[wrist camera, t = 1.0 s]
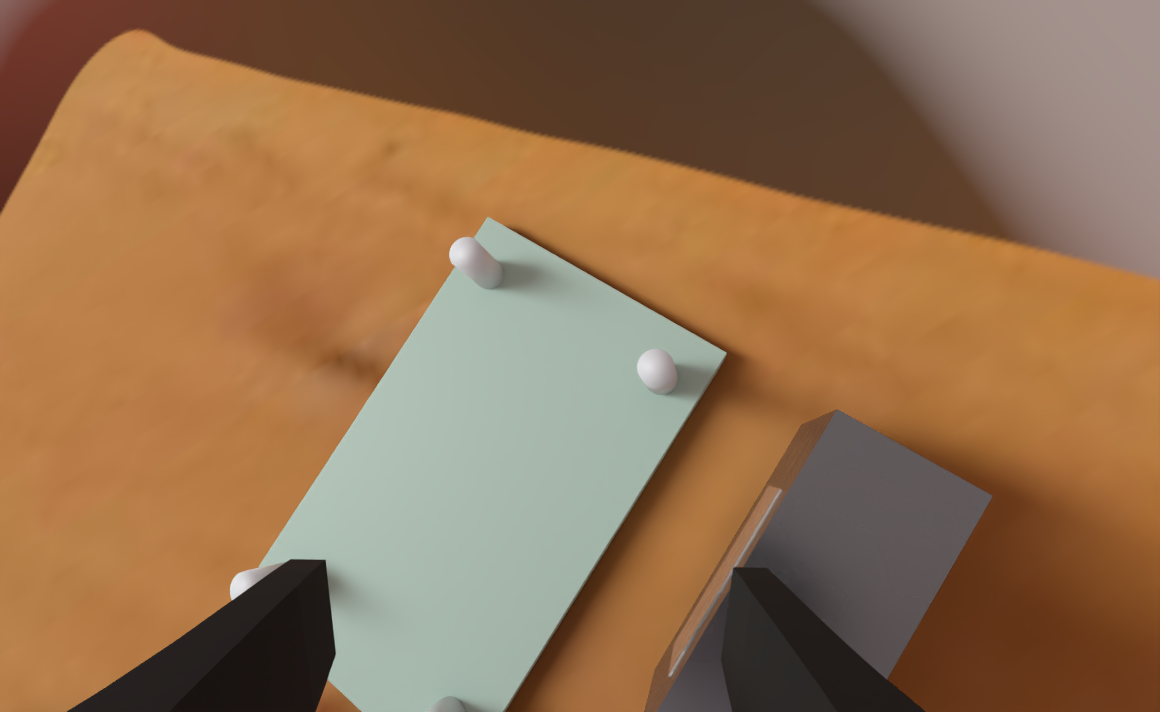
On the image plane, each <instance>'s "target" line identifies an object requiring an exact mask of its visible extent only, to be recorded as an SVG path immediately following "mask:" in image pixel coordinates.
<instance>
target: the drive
mask: <svg viewBox="0 0 1160 712" xmlns="http://www.w3.org/2000/svg"><path fill="white" fill-rule="evenodd" d="M992 497H993V496H992V495H990V494H989V493H987V492H985V491H983V490H981V489H980V488H978V487H976V486H974V485H972V484H971V483H969V482H967V481H965V480H963V479H962V478H960V477H958V476H956V475H954V474H953V473H951V472H949V471H947V470H945V469H944V468H942V467H940V466H938V465H936V464H935V463H933V462H931V461H929V460H927V459H926V458H924V457H922V456H920V455H918V454H917V453H915V452H913V451H911V450H909V449H908V448H906V447H904V446H902V445H900V444H899V443H897V442H895V441H893V440H891V439H890V438H888V437H886V436H884V435H882V434H881V433H879V432H877V431H875V430H873V429H872V428H870V427H868V426H866V425H864V424H863V423H861V422H859V421H857V420H855V419H854V418H852V417H850V416H848V415H846V414H845V413H843V412H841V411H839V410H834V411H832V412H830V413H828V414H825V415H823V416H821V417H818V418H816V419H814V420H812V421H809V422H807V423H805V424H803V425H801V427H800V428H799V430H798V432H797V433H796V435H795V437H794V438H793V440H792V442H791V443H790V445H789V447H788V448H787V450H786V452H785V453H784V455H783V457H782V458H781V460H780V462H779V463H778V465H777V467H776V468H775V470H774V472H773V473H772V475H771V477H770V478H769V480H768V482H767V483H766V485H765V487H764V488H763V490H762V492H761V493H760V495H759V497H758V498H757V500H756V502H755V503H754V505H753V507H752V508H751V510H750V512H749V513H748V515H747V517H746V518H745V520H744V522H743V523H742V525H741V527H740V528H739V530H738V532H737V533H736V535H735V537H734V538H733V540H732V542H731V543H730V545H729V547H728V548H727V550H726V552H725V553H724V555H723V557H722V558H721V560H720V562H719V563H718V565H717V567H716V568H715V570H714V572H713V573H712V575H711V577H710V578H709V580H708V582H707V583H706V585H705V587H704V588H703V590H702V592H701V593H700V595H699V597H698V598H697V600H696V602H695V603H694V605H693V607H692V608H691V610H690V612H689V613H688V615H687V617H686V618H685V620H684V622H683V623H682V625H681V627H680V628H679V630H678V632H677V633H676V635H675V637H674V638H673V640H672V642H671V643H670V645H669V647H668V648H667V650H666V652H665V653H664V655H663V657H662V658H661V660H660V662H659V663H658V665H657V667H656V668H655V671H654V675H653V679H652V683H651V687H650V691H649V695H648V699H647V703H646V707H645V711H644V712H732V709H731V704H730V700H729V696H728V691H727V686H726V681H725V677H724V672H723V667H722V662H721V656H722V648H723V640H724V633H725V625H726V617H727V609H728V602H729V594H730V586H731V578H732V571H733V567H753V568H768V569H769V570H770V571H771V572H772V573H773V574H774V575H775V576H776V577H777V578H778V579H780V580H781V581H782V582H783V583H784V584H785V585H786V586H787V587H788V588H789V589H790V590H791V591H792V592H793V593H794V594H795V595H796V596H797V597H798V598H799V599H800V600H801V601H802V602H803V603H804V604H805V605H806V606H807V607H808V608H809V609H810V610H811V611H812V612H814V613H815V614H816V615H817V616H818V617H819V618H820V619H821V620H822V621H823V622H824V623H825V624H826V625H827V626H828V627H829V628H830V629H831V630H832V631H833V632H835V633H836V634H837V635H838V636H839V637H840V638H841V639H842V640H843V641H844V642H845V643H846V644H847V645H849V646H850V647H851V648H852V649H853V650H854V651H855V652H856V653H857V654H858V655H860V656H861V657H862V658H863V659H864V660H865V661H866V662H867V663H869V664H870V665H871V666H872V667H873V668H874V669H875V670H877V671H878V672H879V673H880V674H881V675H882V676H883V677H885V678H886V679H888V677H889V675H890V673H891V672H892V670H893V668H894V666H895V665H896V663H897V661H898V660H899V658H900V656H901V654H902V653H903V651H904V649H905V647H906V646H907V644H908V642H909V640H910V639H911V637H912V635H913V634H914V632H915V630H916V628H917V627H918V625H919V623H920V621H921V620H922V618H923V616H924V614H925V613H926V611H927V609H928V608H929V606H930V604H931V602H932V601H933V599H934V597H935V595H936V594H937V592H938V590H939V589H940V587H941V585H942V583H943V582H944V580H945V578H946V576H947V575H948V573H949V571H950V569H951V568H952V566H953V564H954V563H955V561H956V559H957V557H958V556H959V554H960V552H961V550H962V549H963V547H964V545H965V543H966V542H967V540H968V538H969V537H970V535H971V533H972V531H973V530H974V528H975V526H976V524H977V523H978V521H979V519H980V517H981V516H982V514H983V512H984V511H985V509H986V507H987V505H988V504H989V502H990V500H991V498H992Z"/></svg>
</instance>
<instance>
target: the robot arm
mask: <svg viewBox="0 0 1160 712" xmlns="http://www.w3.org/2000/svg"><path fill="white" fill-rule="evenodd" d="M335 656H336V649H335V640H334V631H333V622H332V613H331V604H330V595H329V586H328V576H327V567H326V560H315V559H290V560H289V561H287V562H286V563H284V564H282V565H281V566H279V567H278V568H277V569H275V570H274V571H272V572H271V573H269V574H268V575H267V576H265V577H264V578H262V579H261V580H260V581H258V582H257V583H255V584H254V585H253V586H251V587H250V588H249V589H247V590H246V591H244V592H243V593H242V594H240V595H239V596H238V597H236V598H235V599H234V600H232V601H231V602H229V603H228V604H227V605H225V606H224V607H222V608H221V609H220V610H218V611H217V612H215V613H214V614H213V615H211V616H210V617H208V618H207V619H206V620H204V621H203V622H201V623H200V624H199V625H197V626H196V627H194V628H193V629H192V630H190V631H189V632H187V633H186V634H185V635H183V636H182V637H180V638H179V639H178V640H176V641H175V642H173V643H172V644H170V645H169V646H167V647H166V648H164V649H163V650H161V651H160V652H158V653H157V654H155V655H154V656H152V657H151V658H149V659H148V660H146V661H145V662H143V663H142V664H140V665H139V666H137V667H136V668H134V669H133V670H131V671H130V672H128V673H127V674H125V675H124V676H122V677H121V678H119V679H118V680H116V681H115V682H113V683H112V684H110V685H109V686H107V687H106V688H104V689H103V690H101V691H99V692H98V693H96V694H95V695H93V696H91V697H90V698H88V699H87V700H85V701H83V702H82V703H80V704H78V705H77V706H75V707H74V708H72V709H70V710H69V711H67V712H315V711H316V709H317V706H318V703H319V701H320V698H321V696H322V693H323V690H324V688H325V685H326V682H327V679H328V676H329V673H330V670H331V667H332V665H333V662H334V659H335ZM721 662H722V667H723V672H724V677H725V681H726V686H727V691H728V696H729V700H730V704H731V709H732V712H926V711H924V710H923V709H922V708H921V707H919V706H918V705H917V704H916V703H914V702H913V701H912V700H911V699H910V698H908V697H907V696H906V695H905V694H904V693H903V692H901V691H900V690H899V689H898V688H897V687H895V686H894V685H893V684H892V683H891V682H889V681H888V680H887V679H886V678H885V677H883V676H882V675H881V674H880V673H879V672H878V671H877V670H875V669H874V668H873V667H872V666H871V665H870V664H869V663H867V662H866V661H865V660H864V659H863V658H862V657H861V656H860V655H858V654H857V653H856V652H855V651H854V650H853V649H852V648H851V647H850V646H849V645H847V644H846V643H845V642H844V641H843V640H842V639H841V638H840V637H839V636H838V635H837V634H836V633H835V632H833V631H832V630H831V629H830V628H829V627H828V626H827V625H826V624H825V623H824V622H823V621H822V620H821V619H820V618H819V617H818V616H817V615H816V614H815V613H814V612H812V611H811V610H810V609H809V608H808V607H807V606H806V605H805V604H804V603H803V602H802V601H801V600H800V599H799V598H798V597H797V596H796V595H795V594H794V593H793V592H792V591H791V590H790V589H789V588H788V587H787V586H786V585H785V584H784V583H783V582H782V581H781V580H780V579H778V578H777V577H776V576H775V575H774V574H773V573H772V572H771V571H770V570H769V569H768V568H753V567H733V571H732V578H731V586H730V594H729V602H728V609H727V617H726V625H725V633H724V640H723V648H722V656H721Z"/></svg>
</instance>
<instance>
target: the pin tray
mask: <svg viewBox="0 0 1160 712" xmlns="http://www.w3.org/2000/svg"><path fill="white" fill-rule="evenodd" d="M449 256H450V260H451V262H452V264H453V265H454V266H455V268H454V269H453V271H452V272H451V274H450V275H449V277H448V278H447V280H446V281H445V283H444V284H443V286H442V288H441V289H440V291H439V292H438V294H437V295H436V297H435V298H434V300H433V301H432V303H431V304H430V306H429V307H428V309H427V310H426V312H425V313H424V315H423V317H422V318H421V320H420V321H419V323H418V324H417V326H416V327H415V329H414V330H413V332H412V333H411V335H410V336H409V338H408V339H407V341H406V343H405V344H404V346H403V347H402V349H401V350H400V352H399V353H398V355H397V356H396V358H395V359H394V361H393V362H392V364H391V365H390V367H389V368H388V370H387V372H386V373H385V375H384V376H383V378H382V379H381V381H380V382H379V384H378V385H377V387H376V388H375V390H374V391H373V393H372V394H371V396H370V398H369V399H368V401H367V402H366V404H365V405H364V407H363V408H362V410H361V411H360V413H359V414H358V416H357V417H356V419H355V420H354V422H353V423H352V425H351V427H350V428H349V430H348V431H347V433H346V434H345V436H344V437H343V439H342V440H341V442H340V443H339V445H338V446H337V448H336V449H335V451H334V453H333V454H332V456H331V457H330V459H329V460H328V462H327V463H326V465H325V466H324V468H323V469H322V471H321V472H320V474H319V475H318V477H317V478H316V480H315V482H314V483H313V485H312V486H311V488H310V489H309V491H308V492H307V494H306V495H305V497H304V498H303V500H302V501H301V503H300V504H299V506H298V508H297V509H296V511H295V512H294V514H293V515H292V517H291V518H290V520H289V521H288V523H287V524H286V526H285V527H284V529H283V530H282V532H281V533H280V535H279V537H278V538H277V540H276V541H275V543H274V544H273V546H272V547H271V549H270V550H269V552H268V553H267V555H266V556H265V558H264V559H263V561H262V562H261V564H260V566H259V567H258V568H256V569H252V570H247V571H243V572H240V573H239V574H237V575H236V576H235V577H234V579H233V580H232V583H231V586H230V596H231V599H232V600H234V599H235V598H236V597H238V596H239V595H240V594H242V593H243V592H244V591H246V590H247V589H249V588H250V587H251V586H253V585H254V584H255V583H257V582H258V581H260V580H261V579H262V578H264V577H265V576H267V575H268V574H269V573H271V572H272V571H274V570H275V569H277V568H278V567H279V566H281V565H282V564H284V563H286V562H287V561H289V560H290V559H315V560H326V567H327V576H328V586H329V595H330V604H331V613H332V622H333V631H334V640H335V649H336V656H335V659H334V662H333V665H332V667H331V670H330V673H329V676H328V680H329V681H330V682H331V683H332V684H333V685H334V686H335V687H336V688H337V689H338V690H339V691H340V692H341V693H343V694H344V695H345V696H346V697H347V698H348V699H349V700H350V701H351V702H352V703H353V704H354V705H355V706H356V707H358V708H359V709H360V710H361V711H362V712H505V711H506V710H507V708H508V707H509V705H510V703H511V702H512V700H513V698H514V697H515V695H516V694H517V692H518V690H519V689H520V687H521V686H522V684H523V682H524V681H525V679H526V678H527V676H528V674H529V673H530V671H531V670H532V668H533V666H534V665H535V663H536V662H537V660H538V658H539V657H540V655H541V654H542V652H543V650H544V649H545V647H546V646H547V644H548V642H549V641H550V639H551V638H552V636H553V634H554V633H555V631H556V629H557V628H558V626H559V625H560V623H561V621H562V620H563V618H564V617H565V615H566V613H567V612H568V610H569V609H570V607H571V605H572V604H573V602H574V601H575V599H576V597H577V596H578V594H579V593H580V591H581V589H582V588H583V586H584V585H585V583H586V581H587V580H588V578H589V577H590V575H591V573H592V572H593V570H594V569H595V567H596V565H597V564H598V562H599V561H600V559H601V557H602V556H603V554H604V552H605V551H606V549H607V548H608V546H609V544H610V543H611V541H612V540H613V538H614V536H615V535H616V533H617V532H618V530H619V528H620V527H621V525H622V524H623V522H624V520H625V519H626V517H627V516H628V514H629V512H630V511H631V509H632V508H633V506H634V504H635V503H636V501H637V500H638V498H639V496H640V495H641V493H642V492H643V490H644V488H645V487H646V485H647V484H648V482H649V480H650V479H651V477H652V475H653V474H654V472H655V471H656V469H657V467H658V466H659V464H660V463H661V461H662V459H663V458H664V456H665V455H666V453H667V451H668V450H669V448H670V447H671V445H672V443H673V442H674V440H675V439H676V437H677V435H678V434H679V432H680V431H681V429H682V427H683V426H684V424H685V423H686V421H687V419H688V418H689V416H690V415H691V413H692V411H693V410H694V408H695V407H696V405H697V403H698V402H699V400H700V398H701V397H702V395H703V394H704V392H705V390H706V389H707V387H708V386H709V384H710V382H711V381H712V379H713V378H714V376H715V374H716V373H717V371H718V370H719V368H720V366H721V365H722V363H723V362H724V360H725V358H726V354H727V353H726V352H724V351H723V350H721V349H719V348H717V347H716V346H714V345H712V344H710V343H709V342H707V341H705V340H703V339H702V338H700V337H698V336H696V335H695V334H693V333H691V332H689V331H688V330H686V329H684V328H682V327H680V326H679V325H677V324H675V323H673V322H672V321H670V320H668V319H666V318H665V317H663V316H661V315H659V314H658V313H656V312H654V311H652V310H651V309H649V308H647V307H645V306H644V305H642V304H640V303H638V302H637V301H635V300H633V299H631V298H630V297H628V296H626V295H624V294H623V293H621V292H619V291H617V290H616V289H614V288H612V287H610V286H609V285H607V284H605V283H603V282H602V281H600V280H598V279H596V278H594V277H593V276H591V275H589V274H587V273H586V272H584V271H582V270H580V269H579V268H577V267H575V266H573V265H572V264H570V263H568V262H566V261H565V260H563V259H561V258H559V257H558V256H556V255H554V254H552V253H551V252H549V251H547V250H545V249H544V248H542V247H540V246H538V245H537V244H535V243H533V242H531V241H530V240H528V239H526V238H524V237H523V236H521V235H519V234H517V233H516V232H514V231H512V230H510V229H509V228H507V227H505V226H503V225H501V224H500V223H498V222H496V221H494V220H493V219H491V218H489V217H487V219H486V220H485V222H484V223H483V225H482V226H481V228H480V229H479V231H478V233H477V234H476V236H475V237H474V238H471V237H463V238H460V239H458V240H457V241H456V242H455V243H454V244H453V245H452V247H451V249H450V254H449Z"/></svg>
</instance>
